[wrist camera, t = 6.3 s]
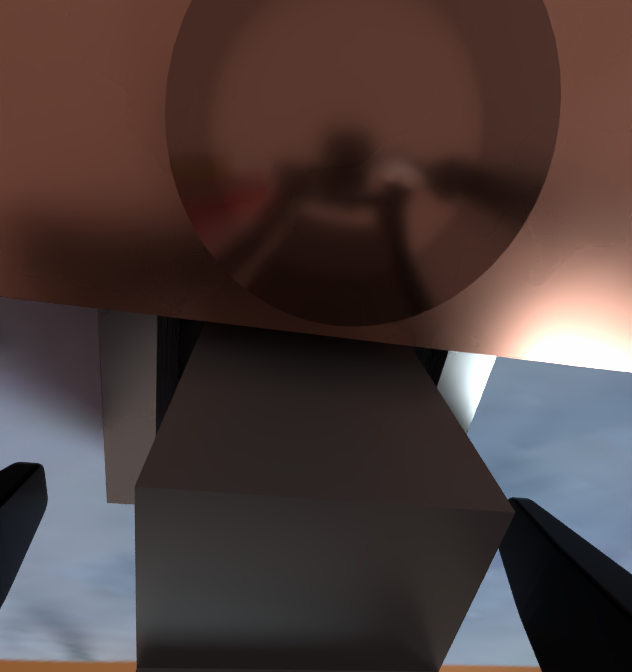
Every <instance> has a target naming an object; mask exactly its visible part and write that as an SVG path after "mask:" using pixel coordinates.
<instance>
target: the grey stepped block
mask: <svg viewBox="0 0 632 672" xmlns="http://www.w3.org/2000/svg"><path fill="white" fill-rule="evenodd" d="M515 513H516V512H515V511H514V509H513V508H512V506H511V504H510V503H509V501H508V500H507V498H506V496H505V495H504V493H503V492H502V490H501V488H500V487H499V485H498V484H497V482H496V481H495V479H494V477H493V476H492V474H491V473H490V471H489V469H488V468H487V466H486V465H485V463H484V462H483V460H482V458H481V457H480V455H479V454H478V452H477V450H476V449H475V447H474V446H473V444H472V443H471V441H470V439H469V438H468V436H467V435H466V433H465V431H464V430H463V428H462V427H461V425H460V424H459V422H458V420H457V419H456V417H455V416H454V414H453V412H452V411H451V409H450V408H449V406H448V405H447V403H446V401H445V400H444V398H443V397H442V395H441V393H440V392H439V390H438V389H437V387H436V385H435V384H434V382H433V381H432V379H431V378H430V376H429V374H428V373H427V371H426V370H425V368H424V366H423V365H422V363H421V362H420V360H419V359H418V357H417V355H416V354H415V352H414V351H413V349H412V347H411V346H407V345H399V344H390V343H382V342H374V341H365V340H357V339H349V338H340V337H332V336H324V335H315V334H307V333H299V332H290V331H282V330H274V329H265V328H257V327H249V326H240V325H232V324H223V323H215V322H207V321H205V323H204V325H203V327H202V330H201V332H200V334H199V337H198V339H197V341H196V344H195V346H194V348H193V351H192V353H191V355H190V358H189V360H188V362H187V365H186V367H185V370H184V372H183V374H182V377H181V379H180V381H179V384H178V386H177V388H176V391H175V393H174V395H173V398H172V400H171V402H170V405H169V407H168V409H167V412H166V414H165V416H164V419H163V421H162V423H161V426H160V428H159V430H158V433H157V435H156V437H155V440H154V442H153V444H152V447H151V449H150V452H149V454H148V456H147V459H146V461H145V463H144V466H143V468H142V470H141V473H140V475H139V477H138V480H137V482H136V484H135V564H136V642H137V670H136V672H439V669H440V667H441V665H442V663H443V661H444V659H445V657H446V655H447V653H448V651H449V649H450V647H451V645H452V643H453V640H454V638H455V636H456V634H457V632H458V630H459V628H460V626H461V624H462V622H463V620H464V618H465V616H466V614H467V612H468V610H469V607H470V605H471V603H472V601H473V599H474V597H475V595H476V593H477V591H478V589H479V587H480V585H481V583H482V581H483V579H484V576H485V574H486V572H487V570H488V568H489V566H490V564H491V562H492V560H493V558H494V556H495V554H496V552H497V550H498V548H499V546H500V543H501V541H502V539H503V537H504V535H505V533H506V531H507V529H508V527H509V525H510V523H511V521H512V519H513V517H514V515H515Z"/></svg>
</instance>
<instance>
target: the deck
mask: <svg viewBox="0 0 632 672" xmlns="http://www.w3.org/2000/svg"><path fill="white" fill-rule="evenodd" d="M0 297H6V298H15V299H23V300H31V301H40V302H48V303H56V304H65V305H73V306H81V307H90V308H98V327H99V348H100V368H101V389H102V410H103V430H104V451H105V471H106V492H107V503H119V504H135V484H136V482H137V480H138V477H139V475H140V473H141V470H142V468H143V466H144V463H145V461H146V459H147V456H148V454H149V452H150V449H151V447H152V444H153V442H154V440H155V437H156V435H157V433H158V430H159V428H160V426H161V423H162V421H163V419H164V416H165V414H166V412H167V409H168V407H169V405H170V402H171V400H172V398H173V395H174V393H175V391H176V388H177V382H178V355H179V328H180V318H182V319H190V320H198V321H207V322H215V323H223V324H232V325H240V326H249V327H257V328H265V329H274V330H282V331H290V332H299V333H307V334H315V335H324V336H332V337H340V338H349V339H357V340H365V341H374V342H382V343H390V344H399V345H407V346H411V347H412V349H413V351H414V352H415V354H416V355H417V357H418V359H419V360H420V362H421V363H422V365H423V366H424V368H425V370H426V371H427V373H428V374H429V376H430V378H431V379H432V381H433V382H434V384H435V385H436V387H437V389H438V390H439V392H440V393H441V395H442V397H443V398H444V400H445V401H446V403H447V405H448V406H449V408H450V409H451V411H452V412H453V414H454V416H455V417H456V419H457V420H458V422H459V424H460V425H461V427H462V428H463V430H464V431H465V433H466V434H467V432H468V429H469V427H470V424H471V421H472V419H473V416H474V414H475V411H476V408H477V406H478V403H479V400H480V398H481V395H482V393H483V390H484V387H485V385H486V382H487V380H488V377H489V374H490V372H491V369H492V366H493V364H494V361H495V359H496V356H499V357H507V358H516V359H524V360H532V361H541V362H549V363H558V364H566V365H574V366H583V367H591V368H599V369H608V370H616V371H624V372H632V0H0Z"/></svg>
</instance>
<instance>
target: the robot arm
mask: <svg viewBox="0 0 632 672" xmlns="http://www.w3.org/2000/svg"><path fill="white" fill-rule="evenodd" d="M47 501H48V495H47V487H46V479H45V471H44V467H43V466H42V465H41V464H39V463H29V462H16V463H13V464H11V465H10V466H8V467H6V468H4V469H3V470H1V471H0V608H1V606H2V604H3V603H4V601H5V599H6V597H7V595H8V593H9V590H10V588H11V586H12V584H13V582H14V580H15V577H16V575H17V573H18V571H19V568H20V566H21V564H22V562H23V559H24V557H25V555H26V553H27V551H28V548H29V546H30V544H31V542H32V539H33V537H34V535H35V533H36V530H37V528H38V526H39V524H40V521H41V519H42V517H43V515H44V512H45V510H46V507H47ZM508 501H509V503H510V504H511V506H512V508H513V509H514V511H515V512H516V513H515V515H514V517H513V519H512V521H511V523H510V525H509V527H508V529H507V531H506V533H505V535H504V537H503V539H502V541H501V543H500V546H499V552H500V555H501V558H502V561H503V565H504V568H505V571H506V575H507V578H508V581H509V584H510V588H511V591H512V594H513V597H514V601H515V604H516V607H517V610H518V613H519V616H520V618H521V621H522V623H523V626H524V629H525V631H526V634H527V636H528V639H529V641H530V644H531V646H532V648H533V651H534V653H535V656H536V658H537V661H538V663H539V666H540V668H541V671H542V672H632V574H631V573H629V572H628V571H626V570H625V569H624V568H622V567H621V566H620V565H618V564H617V563H616V562H614V561H613V560H612V559H610V558H609V557H608V556H606V555H605V554H604V553H602V552H601V551H600V550H598V549H597V548H596V547H594V546H593V545H591V544H590V543H589V542H587V541H586V540H585V539H583V538H582V537H581V536H579V535H578V534H577V533H575V532H574V531H573V530H571V529H570V528H569V527H567V526H566V525H565V524H563V523H562V522H560V521H559V520H558V519H556V518H555V517H554V516H552V515H551V514H550V513H548V512H547V511H546V510H544V509H543V508H542V507H540V506H539V505H538V504H536V503H535V502H534V501H532V500H530V499H527V498H516V497H512V498H509V499H508Z"/></svg>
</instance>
